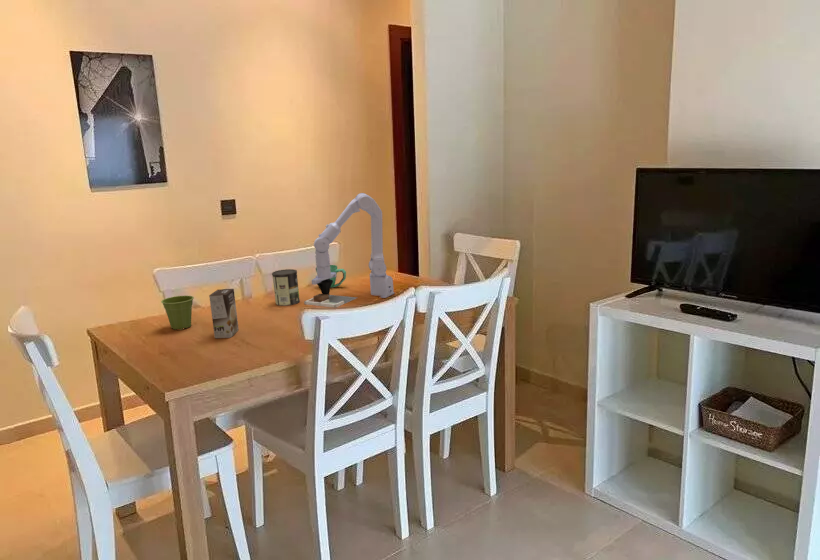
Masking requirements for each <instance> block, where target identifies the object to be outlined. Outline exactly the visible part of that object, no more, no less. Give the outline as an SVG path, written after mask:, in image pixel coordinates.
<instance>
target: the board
mask: <svg viewBox="0 0 820 560" xmlns="http://www.w3.org/2000/svg"><path fill="white" fill-rule="evenodd" d="M356 299H358V297H354V296H346V295H345V296H344V295H335V294H329V299H327V300H325V301H322V302H314V297H312V298H310V299H307V300H304V301H303V303H304V304H303V305H307V306H314V307H315V306H317V307H324V308H325V307H326V308H334V309H335V308H338V307H341V306H343V305H345V304H347V303H350V302H351V301H355V300H356Z"/></svg>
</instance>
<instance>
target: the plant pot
mask: <svg viewBox="0 0 820 560" xmlns="http://www.w3.org/2000/svg"><path fill="white" fill-rule="evenodd" d="M194 299H195V297H194V296H193V295H176V296H170V297H167V298H164V299H162V300H160V302H161V304H162V305H163V308H164V310H165V312H166V316H167V318H168V321H169V326H170V328H171V329H172V328H173V329H172V330H176V329H180V330H184V329H183V328H186V329H187V328H190V327H191V326H192V315H193V314H192V310H193V301H194Z"/></svg>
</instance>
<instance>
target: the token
mask: <svg viewBox="0 0 820 560" xmlns="http://www.w3.org/2000/svg"><path fill="white" fill-rule="evenodd" d="M329 295H330V293H329V294H322V293H318V294H316V295H314V296H313V297H312V298H314V302H322V301H325V300H327V299H329Z"/></svg>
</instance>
